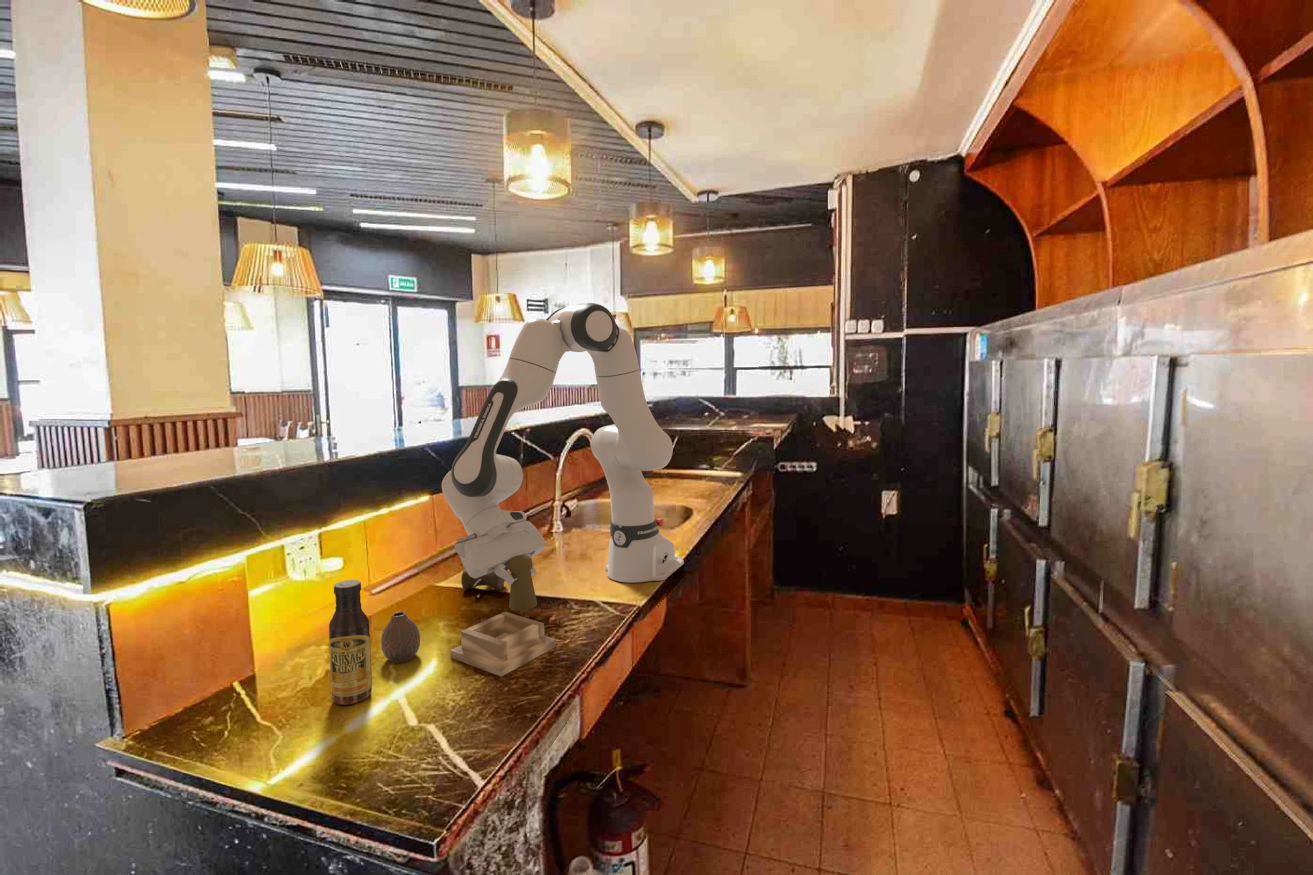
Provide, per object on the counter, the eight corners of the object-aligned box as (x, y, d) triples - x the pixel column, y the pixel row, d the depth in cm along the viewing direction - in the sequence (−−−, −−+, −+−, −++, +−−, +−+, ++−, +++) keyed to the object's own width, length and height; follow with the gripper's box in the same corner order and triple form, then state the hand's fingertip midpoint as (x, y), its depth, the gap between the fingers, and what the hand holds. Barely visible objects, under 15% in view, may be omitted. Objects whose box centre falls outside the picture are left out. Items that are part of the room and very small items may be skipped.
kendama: (519, 573, 169) (494, 598, 149) (484, 574, 170) (454, 599, 150) (518, 551, 168) (492, 574, 148) (483, 552, 169) (452, 575, 149)
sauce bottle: (328, 710, 101) (317, 592, 99) (336, 691, 107) (326, 579, 105) (372, 703, 103) (362, 587, 101) (377, 685, 109) (368, 575, 107)
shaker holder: (506, 630, 130) (505, 607, 130) (556, 646, 122) (554, 621, 122) (450, 657, 119) (449, 632, 118) (500, 676, 111) (499, 649, 110)
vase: (429, 654, 121) (426, 610, 120) (398, 669, 115) (394, 624, 114) (405, 647, 124) (402, 604, 123) (374, 661, 118) (370, 617, 117)
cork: (530, 611, 133) (527, 561, 131) (504, 610, 134) (500, 560, 133) (541, 600, 139) (538, 552, 137) (516, 599, 140) (512, 551, 139)
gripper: (456, 532, 130) (491, 586, 125) (529, 510, 146) (562, 556, 142) (444, 550, 133) (479, 603, 128) (517, 526, 149) (549, 572, 145)
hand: (523, 578), depth 135 cm, fingers closed on cork, 4 cm apart
